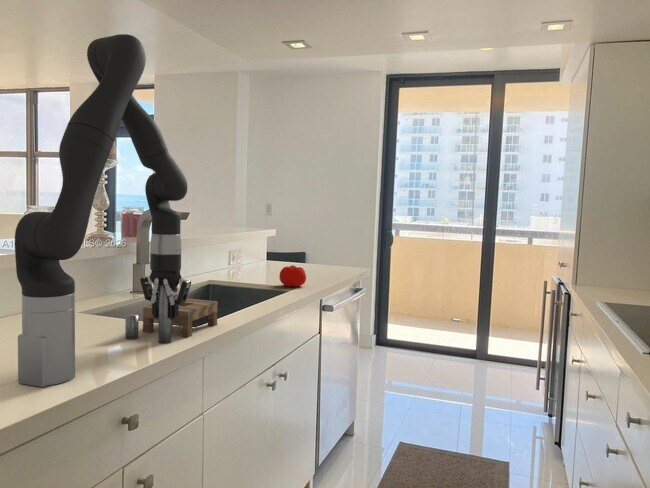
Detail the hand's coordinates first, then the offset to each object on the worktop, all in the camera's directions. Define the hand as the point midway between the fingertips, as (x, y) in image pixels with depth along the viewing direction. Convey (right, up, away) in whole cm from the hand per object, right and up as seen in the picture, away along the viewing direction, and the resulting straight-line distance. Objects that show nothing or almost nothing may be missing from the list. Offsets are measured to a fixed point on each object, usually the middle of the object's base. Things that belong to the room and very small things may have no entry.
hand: (165, 317), depth 131 cm
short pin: (-10, -6, +3) cm, 12 cm away
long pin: (0, -6, 0) cm, 6 cm away
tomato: (+26, 0, +97) cm, 100 cm away
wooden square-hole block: (0, -5, +15) cm, 16 cm away
